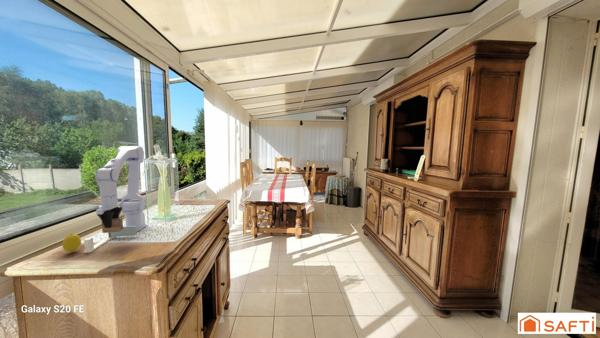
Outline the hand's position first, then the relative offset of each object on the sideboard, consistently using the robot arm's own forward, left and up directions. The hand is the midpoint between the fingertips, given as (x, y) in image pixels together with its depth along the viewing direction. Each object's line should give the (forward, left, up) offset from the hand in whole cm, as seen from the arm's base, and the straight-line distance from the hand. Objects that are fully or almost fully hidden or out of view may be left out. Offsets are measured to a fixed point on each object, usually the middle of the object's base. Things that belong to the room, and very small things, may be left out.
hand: (111, 225), depth 103 cm
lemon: (+5, -12, -9) cm, 16 cm away
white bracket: (-3, -6, -9) cm, 11 cm away
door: (-9, 0, -8) cm, 12 cm away
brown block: (0, +1, -2) cm, 2 cm away
